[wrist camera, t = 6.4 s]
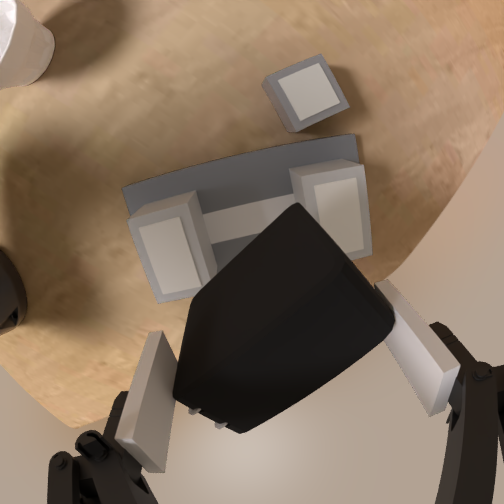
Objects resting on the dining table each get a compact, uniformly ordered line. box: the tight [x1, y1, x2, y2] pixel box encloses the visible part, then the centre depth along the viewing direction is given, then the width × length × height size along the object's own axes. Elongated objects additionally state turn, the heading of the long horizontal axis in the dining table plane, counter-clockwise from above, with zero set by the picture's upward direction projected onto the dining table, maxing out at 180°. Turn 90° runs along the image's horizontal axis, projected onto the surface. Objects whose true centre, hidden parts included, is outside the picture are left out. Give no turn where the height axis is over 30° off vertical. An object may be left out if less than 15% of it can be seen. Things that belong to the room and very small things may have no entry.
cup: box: [0, 0, 55, 90], centre depth 19 cm, size 12×12×11 cm
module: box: [262, 54, 350, 132], centre depth 27 cm, size 6×6×5 cm
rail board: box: [122, 134, 373, 304], centre depth 31 cm, size 26×14×8 cm, turn 103°
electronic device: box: [172, 202, 395, 434], centre depth 16 cm, size 4×10×10 cm, turn 134°
